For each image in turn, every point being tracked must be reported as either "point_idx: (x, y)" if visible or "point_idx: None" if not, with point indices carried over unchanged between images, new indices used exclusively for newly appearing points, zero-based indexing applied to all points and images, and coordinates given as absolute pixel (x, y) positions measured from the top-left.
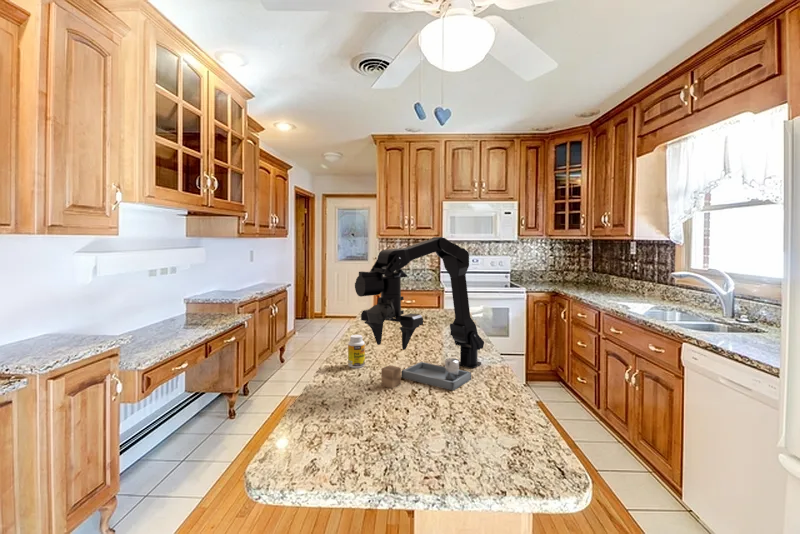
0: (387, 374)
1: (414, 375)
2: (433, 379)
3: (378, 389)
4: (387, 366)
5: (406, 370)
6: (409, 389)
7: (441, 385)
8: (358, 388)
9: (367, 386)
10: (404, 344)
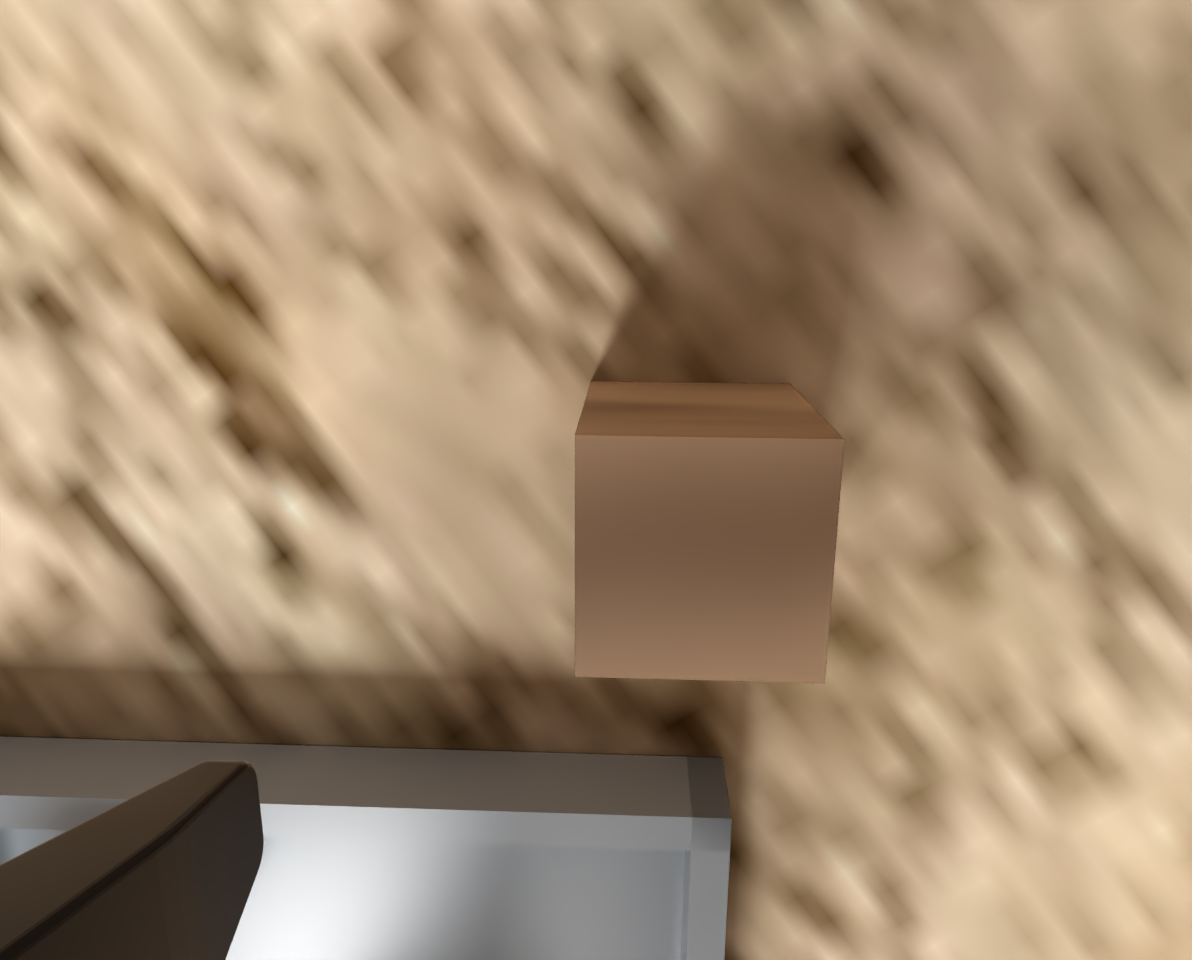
0: (687, 418)
1: (499, 795)
2: None
3: (731, 228)
4: (817, 600)
5: (688, 872)
6: (379, 478)
7: (95, 755)
8: (1021, 73)
9: (945, 225)
10: (33, 850)
